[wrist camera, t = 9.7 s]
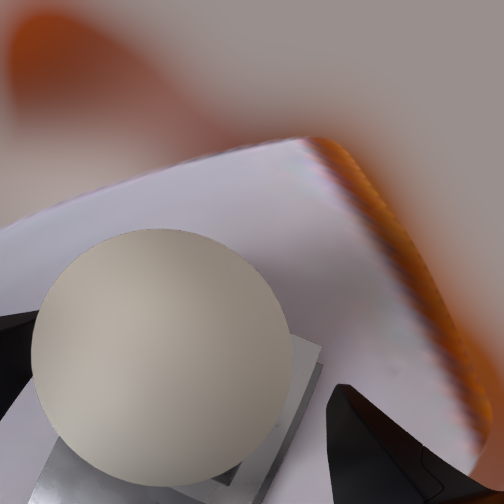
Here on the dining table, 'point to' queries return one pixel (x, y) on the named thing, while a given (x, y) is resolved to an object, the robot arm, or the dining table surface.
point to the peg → (161, 357)
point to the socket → (197, 494)
